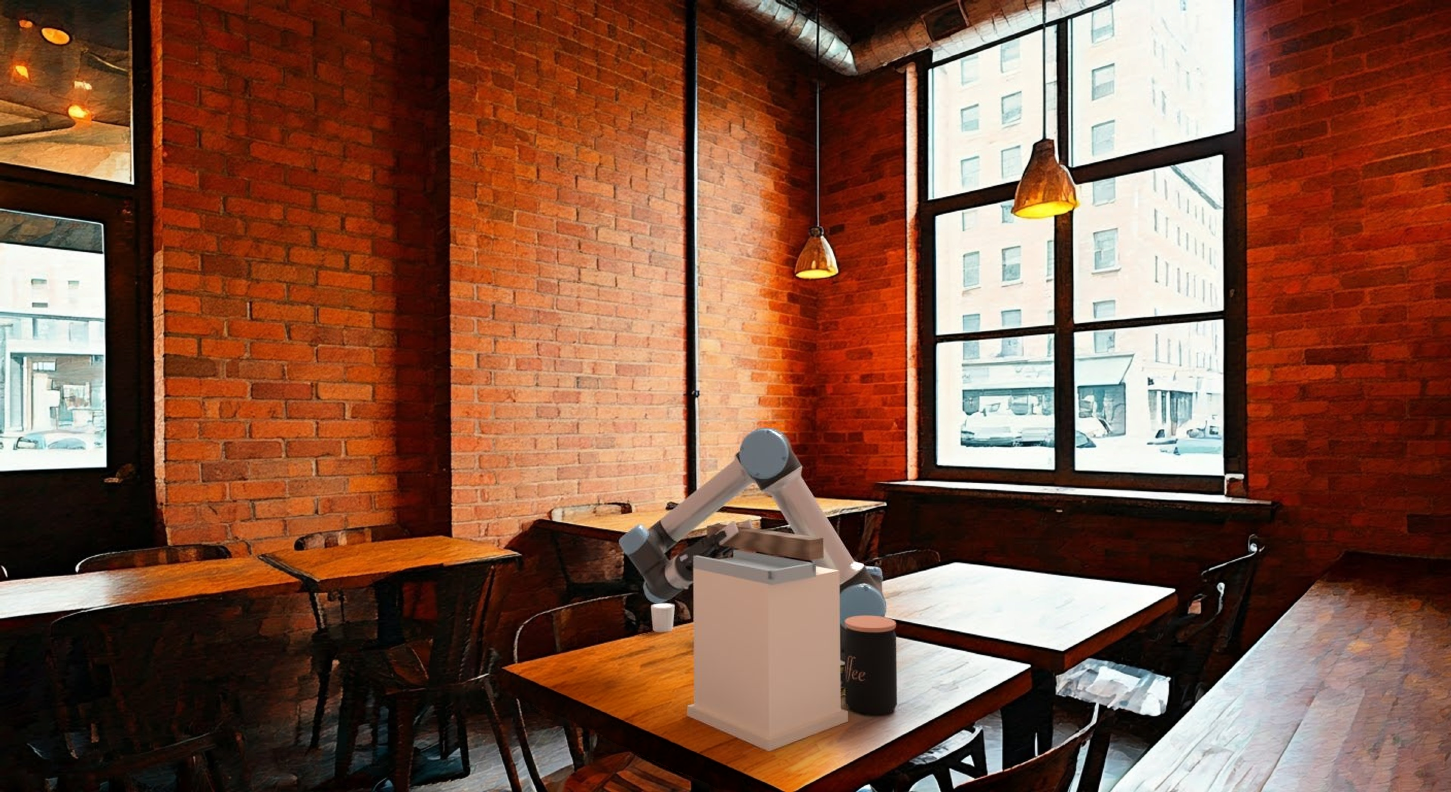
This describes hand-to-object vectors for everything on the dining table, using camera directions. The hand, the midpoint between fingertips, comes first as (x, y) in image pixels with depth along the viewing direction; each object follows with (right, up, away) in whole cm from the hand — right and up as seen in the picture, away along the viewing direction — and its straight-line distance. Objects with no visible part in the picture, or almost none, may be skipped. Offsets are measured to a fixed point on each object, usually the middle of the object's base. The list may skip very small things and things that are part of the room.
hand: (743, 525), depth 178 cm
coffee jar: (+26, -37, -9) cm, 46 cm away
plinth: (+4, -37, -15) cm, 40 cm away
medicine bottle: (+18, -37, 0) cm, 41 cm away
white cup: (-22, -39, +55) cm, 71 cm away
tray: (+1, -7, -16) cm, 18 cm away
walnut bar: (+4, -5, -4) cm, 7 cm away
